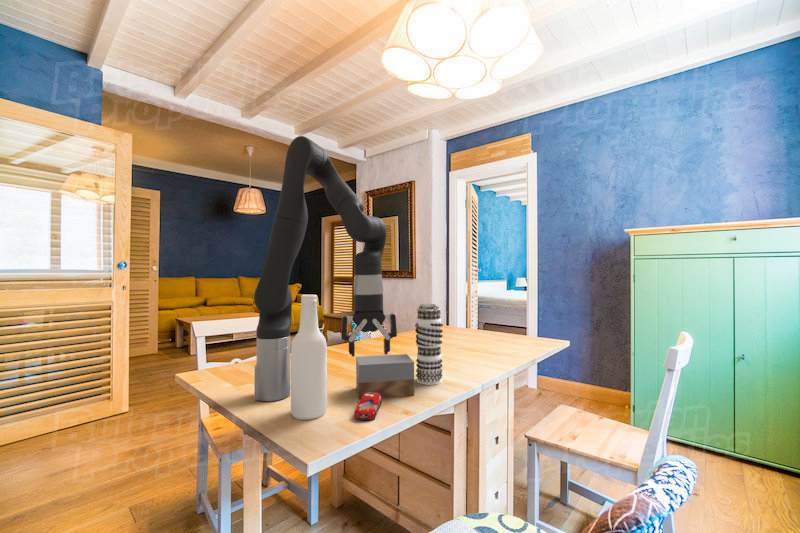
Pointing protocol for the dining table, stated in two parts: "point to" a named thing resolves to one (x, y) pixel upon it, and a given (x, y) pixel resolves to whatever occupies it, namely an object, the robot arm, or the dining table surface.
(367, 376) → the top block
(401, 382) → the bottom block
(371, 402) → the race car
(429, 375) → the decorative candle
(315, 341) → the white bottle
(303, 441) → the dining table surface
